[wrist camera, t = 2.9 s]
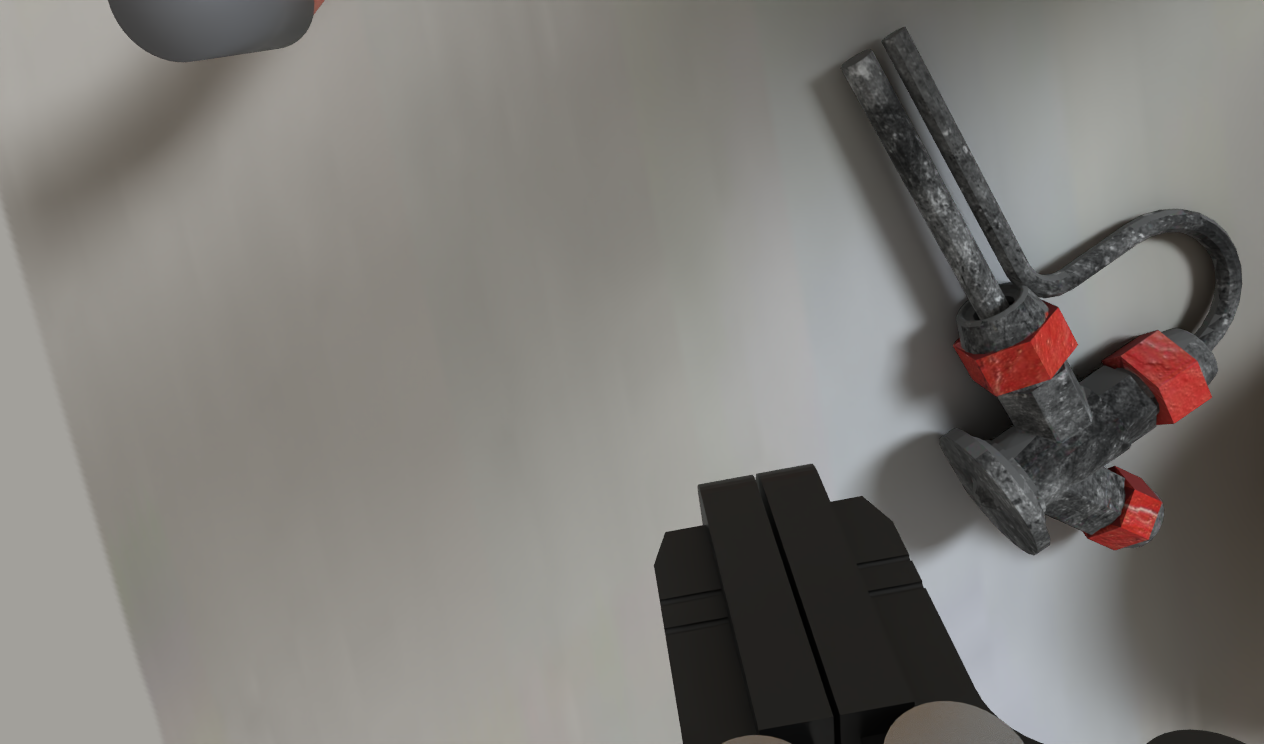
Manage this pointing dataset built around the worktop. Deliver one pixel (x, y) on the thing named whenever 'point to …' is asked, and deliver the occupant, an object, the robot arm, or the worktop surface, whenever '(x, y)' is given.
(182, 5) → the lever
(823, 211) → the worktop surface
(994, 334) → the valve
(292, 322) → the worktop surface
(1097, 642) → the worktop surface
